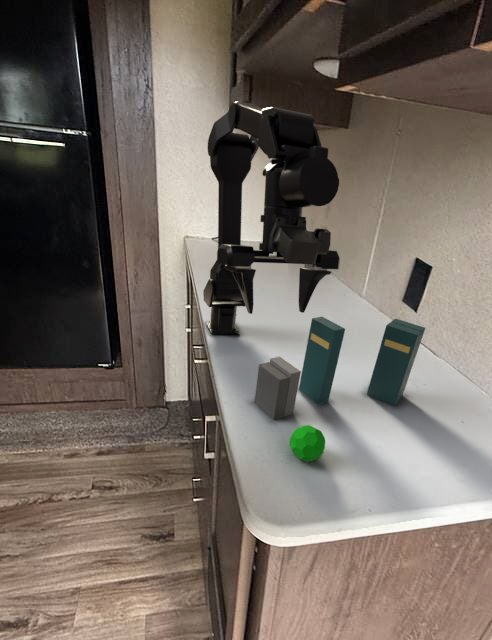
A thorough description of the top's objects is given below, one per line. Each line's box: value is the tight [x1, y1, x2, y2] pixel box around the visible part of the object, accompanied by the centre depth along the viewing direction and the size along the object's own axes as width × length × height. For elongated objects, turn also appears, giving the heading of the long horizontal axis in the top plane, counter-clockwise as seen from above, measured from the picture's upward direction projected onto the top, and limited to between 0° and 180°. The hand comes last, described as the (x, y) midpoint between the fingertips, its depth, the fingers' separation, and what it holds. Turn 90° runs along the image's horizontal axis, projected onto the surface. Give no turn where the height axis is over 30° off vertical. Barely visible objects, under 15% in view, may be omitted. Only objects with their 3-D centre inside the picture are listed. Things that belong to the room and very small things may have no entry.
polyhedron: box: [288, 424, 326, 462], centre depth 55 cm, size 5×5×5 cm
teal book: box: [298, 316, 346, 406], centre depth 68 cm, size 6×2×14 cm, turn 37°
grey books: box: [253, 356, 302, 421], centre depth 64 cm, size 6×4×8 cm
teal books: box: [366, 318, 426, 406], centre depth 72 cm, size 6×5×14 cm
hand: (276, 312), depth 64 cm, fingers open, 9 cm apart
